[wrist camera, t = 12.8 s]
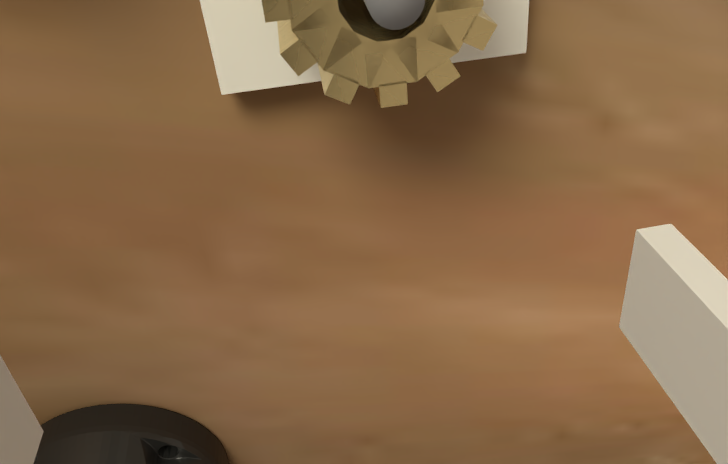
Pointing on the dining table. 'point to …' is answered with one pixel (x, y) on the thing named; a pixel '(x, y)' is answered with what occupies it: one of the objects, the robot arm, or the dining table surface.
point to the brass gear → (376, 44)
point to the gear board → (269, 69)
